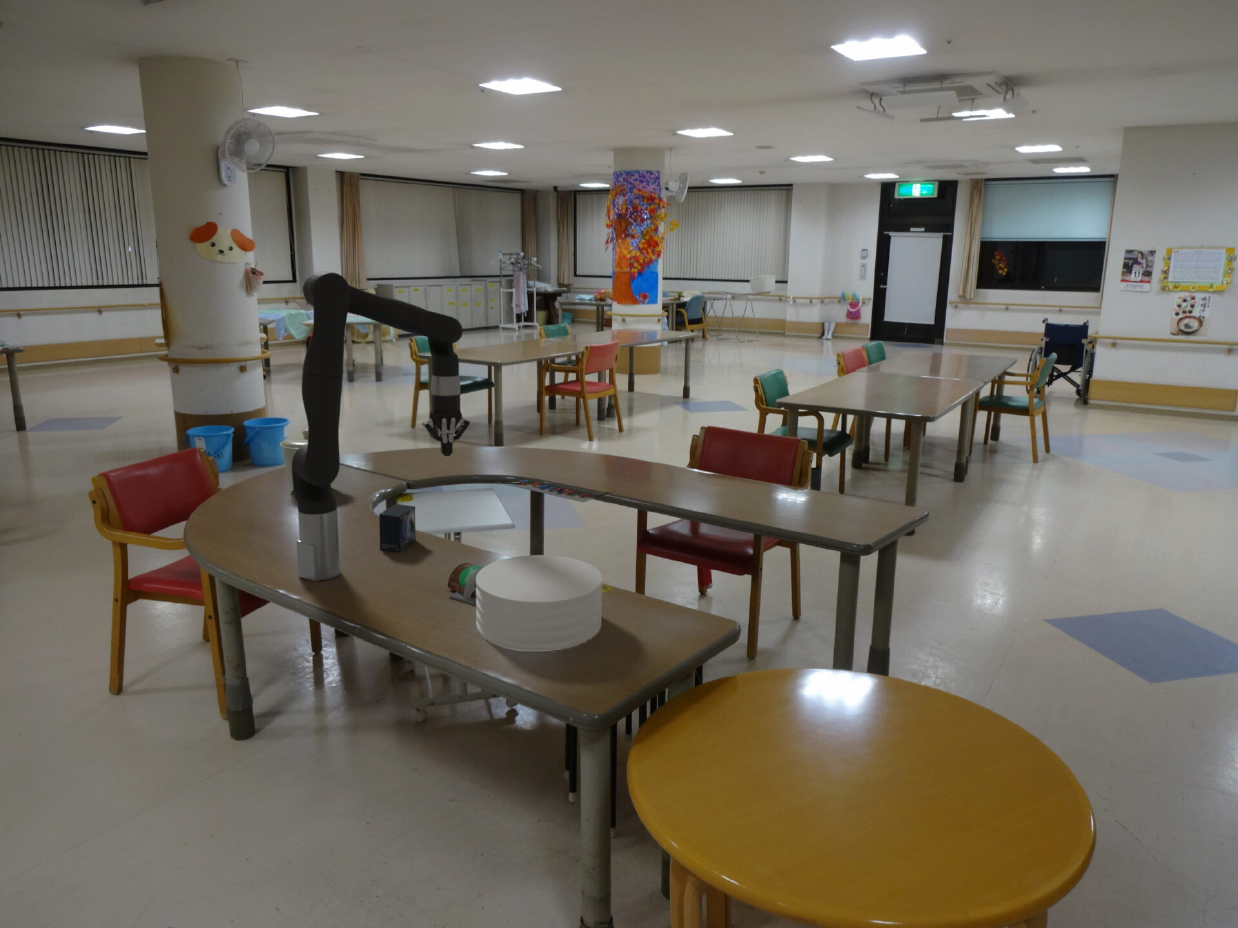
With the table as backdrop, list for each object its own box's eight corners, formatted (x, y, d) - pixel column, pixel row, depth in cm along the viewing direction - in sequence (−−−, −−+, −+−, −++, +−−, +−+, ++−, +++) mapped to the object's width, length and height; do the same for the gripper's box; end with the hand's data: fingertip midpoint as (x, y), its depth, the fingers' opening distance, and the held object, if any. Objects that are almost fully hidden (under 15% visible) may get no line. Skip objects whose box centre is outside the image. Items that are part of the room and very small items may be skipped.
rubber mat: (482, 607, 201) (482, 605, 201) (449, 597, 206) (449, 595, 206) (528, 583, 216) (528, 581, 216) (496, 575, 221) (496, 572, 221)
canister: (348, 484, 298) (345, 425, 293) (323, 499, 281) (320, 436, 275) (299, 481, 300) (296, 422, 295) (272, 495, 283) (267, 432, 278)
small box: (400, 552, 235) (399, 516, 232) (378, 550, 236) (377, 513, 233) (417, 540, 245) (416, 505, 242) (396, 538, 246) (394, 503, 244)
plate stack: (539, 590, 213) (540, 546, 210) (626, 623, 195) (628, 576, 192) (450, 624, 192) (449, 576, 189) (538, 665, 174) (539, 613, 172)
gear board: (615, 484, 302) (583, 497, 286) (615, 491, 302) (583, 504, 287) (517, 463, 326) (483, 474, 310) (517, 470, 326) (483, 480, 311)
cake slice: (482, 553, 217) (508, 563, 211) (482, 575, 219) (508, 586, 212) (442, 564, 208) (468, 575, 202) (442, 588, 210) (468, 600, 203)
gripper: (425, 395, 221) (427, 461, 225) (474, 392, 227) (475, 456, 231) (417, 391, 227) (418, 454, 231) (464, 388, 233) (465, 450, 238)
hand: (446, 455), depth 231 cm, fingers closed
